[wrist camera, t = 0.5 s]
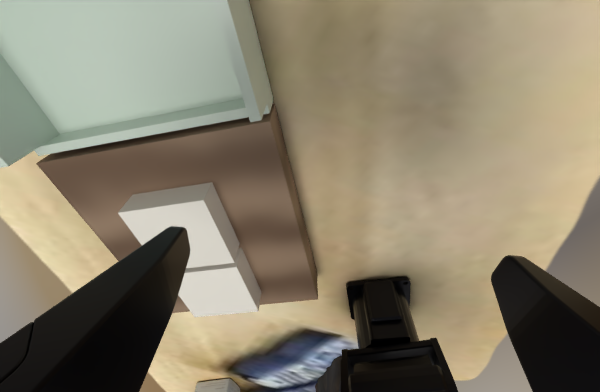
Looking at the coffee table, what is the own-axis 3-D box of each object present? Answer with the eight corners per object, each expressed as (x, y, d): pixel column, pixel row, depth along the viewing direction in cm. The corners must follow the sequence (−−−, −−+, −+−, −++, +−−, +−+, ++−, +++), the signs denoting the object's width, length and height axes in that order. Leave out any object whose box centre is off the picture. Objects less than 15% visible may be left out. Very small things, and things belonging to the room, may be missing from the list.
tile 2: (261, 291, 27) (258, 311, 26) (201, 297, 28) (194, 317, 26) (241, 247, 24) (236, 267, 22) (173, 256, 24) (163, 275, 23)
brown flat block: (317, 273, 30) (317, 299, 28) (174, 288, 32) (163, 313, 30) (274, 103, 20) (269, 121, 17) (66, 143, 22) (36, 163, 19)
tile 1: (239, 243, 23) (234, 262, 22) (170, 251, 24) (160, 271, 23) (212, 182, 20) (203, 200, 18) (132, 194, 21) (117, 212, 19)
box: (273, 99, 19) (264, 130, 15) (63, 139, 22) (8, 176, 18) (220, -112, 14) (184, -150, 10) (-60, -29, 16) (-186, -31, 12)
